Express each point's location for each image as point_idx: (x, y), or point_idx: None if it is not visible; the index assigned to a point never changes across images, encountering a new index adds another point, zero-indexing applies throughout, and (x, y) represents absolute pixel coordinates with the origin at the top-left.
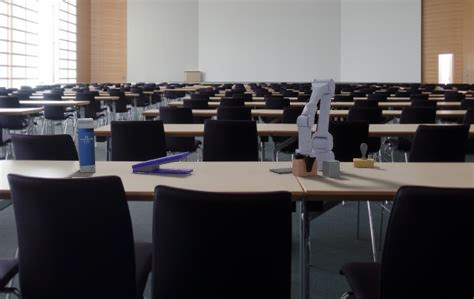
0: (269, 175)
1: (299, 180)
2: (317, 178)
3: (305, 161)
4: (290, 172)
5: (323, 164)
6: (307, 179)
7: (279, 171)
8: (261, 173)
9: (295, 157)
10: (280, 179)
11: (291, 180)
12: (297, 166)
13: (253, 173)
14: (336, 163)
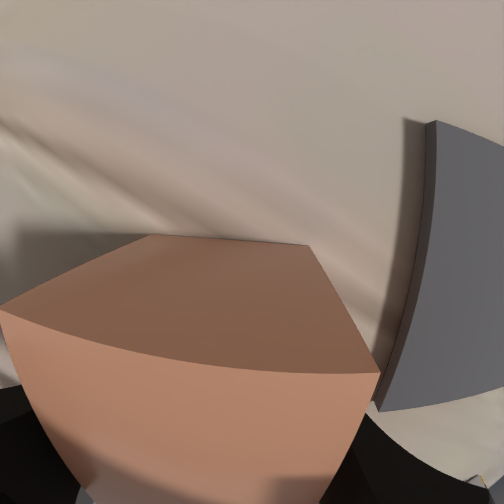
0: (380, 4)
1: (12, 143)
2: None
3: (14, 409)
4: (413, 289)
5: (81, 489)
6: (16, 227)
7: (476, 171)
8: (490, 39)
9: (437, 492)
10: (118, 3)
11: (38, 79)
12: (101, 270)
13: (494, 8)
14: None
